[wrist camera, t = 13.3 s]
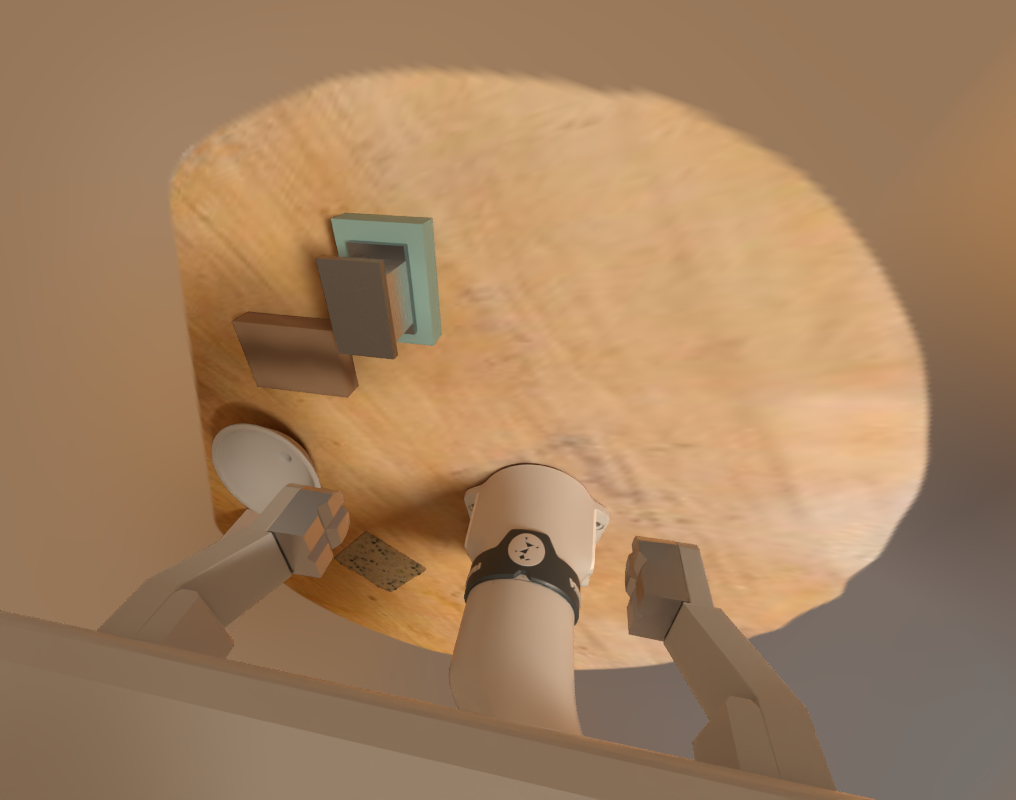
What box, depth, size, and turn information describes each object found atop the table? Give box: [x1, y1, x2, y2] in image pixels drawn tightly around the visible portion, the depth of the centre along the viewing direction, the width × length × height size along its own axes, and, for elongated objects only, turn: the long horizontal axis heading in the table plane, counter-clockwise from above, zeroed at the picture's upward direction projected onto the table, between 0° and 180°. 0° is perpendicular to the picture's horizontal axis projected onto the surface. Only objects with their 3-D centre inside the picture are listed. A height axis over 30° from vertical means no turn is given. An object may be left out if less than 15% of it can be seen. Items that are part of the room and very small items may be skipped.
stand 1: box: [232, 312, 358, 398], centre depth 44 cm, size 8×11×2 cm
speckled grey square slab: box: [334, 531, 426, 592], centre depth 68 cm, size 12×12×1 cm
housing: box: [316, 240, 417, 359], centre depth 35 cm, size 5×8×6 cm, turn 179°
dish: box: [211, 423, 321, 514], centre depth 54 cm, size 18×14×5 cm
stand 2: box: [331, 213, 442, 346], centre depth 38 cm, size 11×8×2 cm
